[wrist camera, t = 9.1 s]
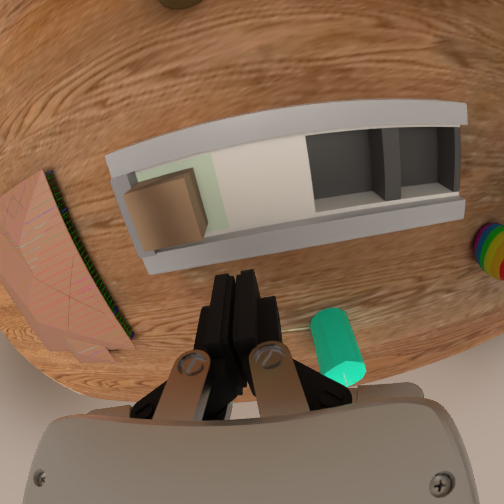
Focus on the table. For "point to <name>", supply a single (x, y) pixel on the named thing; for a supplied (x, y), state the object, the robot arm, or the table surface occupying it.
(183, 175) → the walnut block
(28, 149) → the table surface
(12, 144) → the table surface
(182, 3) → the olive pawn
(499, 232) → the decorative egg
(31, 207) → the house
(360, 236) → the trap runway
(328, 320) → the candle
